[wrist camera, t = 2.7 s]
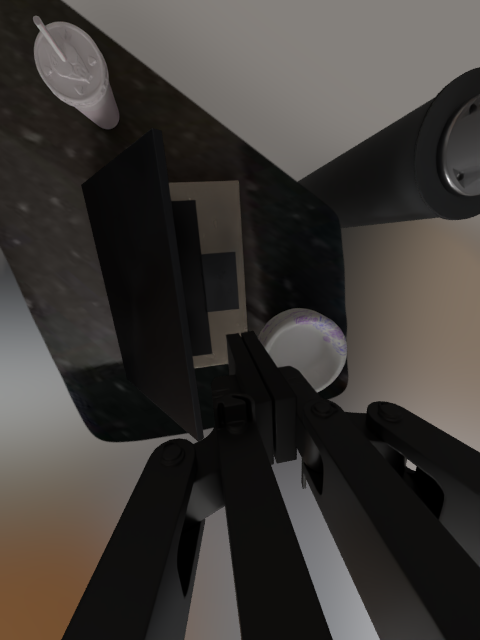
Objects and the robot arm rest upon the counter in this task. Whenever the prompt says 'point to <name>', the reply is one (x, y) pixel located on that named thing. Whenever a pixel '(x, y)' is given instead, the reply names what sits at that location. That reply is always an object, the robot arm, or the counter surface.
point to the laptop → (210, 265)
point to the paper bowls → (306, 345)
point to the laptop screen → (145, 276)
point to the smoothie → (75, 71)
